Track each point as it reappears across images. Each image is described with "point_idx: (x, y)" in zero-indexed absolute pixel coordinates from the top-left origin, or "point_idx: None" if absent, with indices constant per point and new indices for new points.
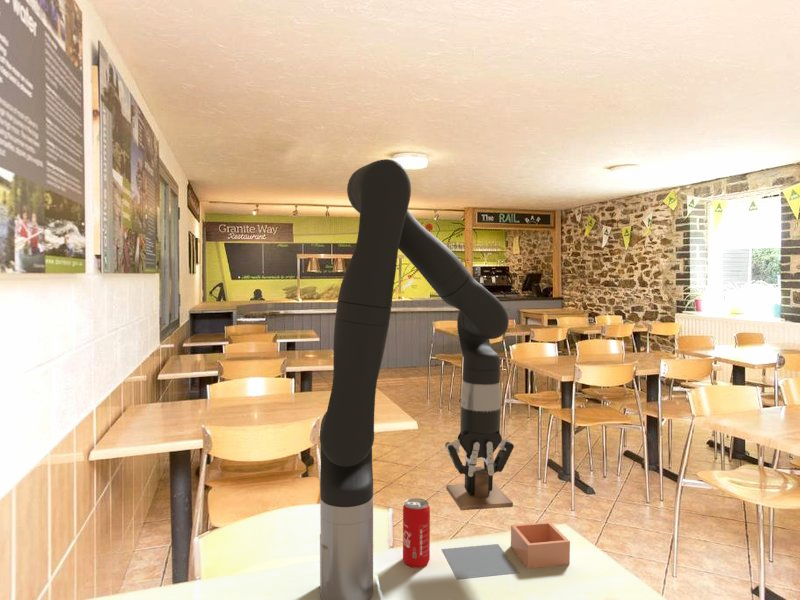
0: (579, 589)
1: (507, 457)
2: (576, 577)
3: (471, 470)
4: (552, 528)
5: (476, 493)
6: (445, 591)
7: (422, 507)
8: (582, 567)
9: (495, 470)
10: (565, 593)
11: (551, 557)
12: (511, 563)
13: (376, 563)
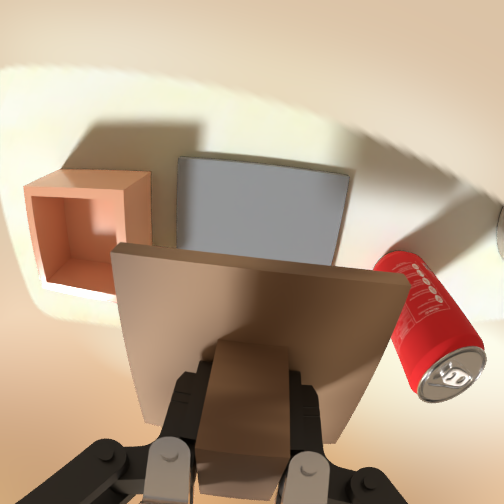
0: (77, 82)
1: (40, 494)
2: (63, 127)
3: (306, 485)
4: (42, 259)
5: (283, 363)
6: (388, 151)
7: (458, 353)
8: (39, 163)
9: (135, 456)
10: (111, 70)
11: (82, 176)
12: (179, 203)
13: (455, 294)
